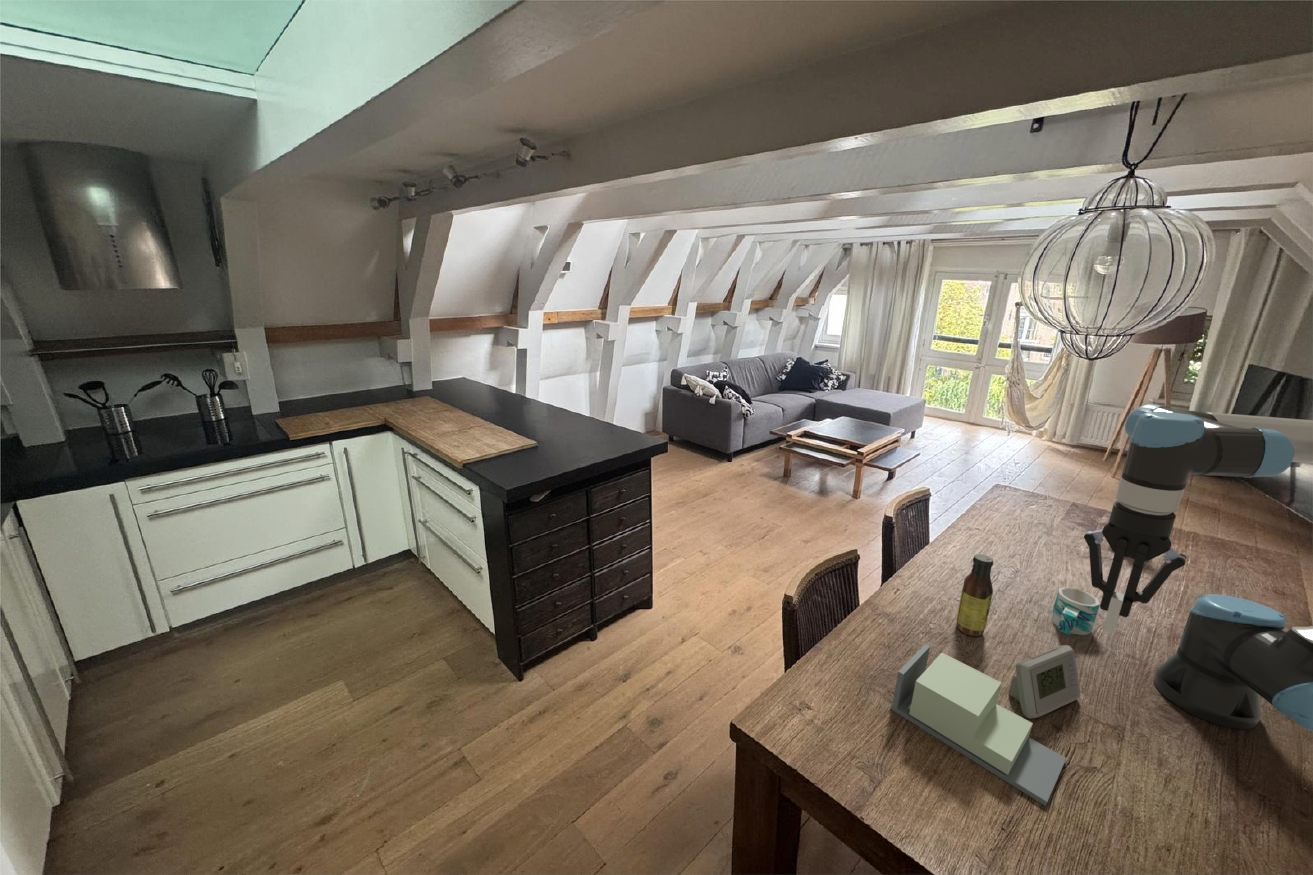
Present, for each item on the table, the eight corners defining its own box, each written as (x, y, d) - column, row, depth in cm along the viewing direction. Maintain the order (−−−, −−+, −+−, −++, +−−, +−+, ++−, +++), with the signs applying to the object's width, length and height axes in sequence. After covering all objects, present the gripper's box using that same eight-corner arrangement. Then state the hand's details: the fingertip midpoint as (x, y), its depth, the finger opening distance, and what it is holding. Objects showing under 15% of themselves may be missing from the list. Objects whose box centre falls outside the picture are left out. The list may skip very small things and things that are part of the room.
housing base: (1064, 762, 91) (1078, 721, 88) (1045, 806, 83) (1059, 762, 81) (917, 679, 110) (924, 643, 107) (890, 709, 102) (897, 670, 100)
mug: (1094, 626, 128) (1103, 597, 126) (1083, 647, 121) (1092, 617, 118) (1055, 610, 134) (1062, 583, 132) (1041, 629, 127) (1049, 600, 124)
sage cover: (1029, 736, 95) (1039, 701, 92) (1008, 775, 87) (1018, 738, 85) (935, 683, 107) (941, 652, 105) (909, 714, 99) (915, 681, 97)
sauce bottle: (988, 639, 123) (1005, 567, 117) (960, 635, 124) (976, 564, 118) (977, 622, 129) (993, 553, 123) (950, 619, 130) (965, 550, 124)
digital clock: (1026, 723, 99) (1038, 679, 96) (989, 688, 108) (999, 647, 105) (1094, 712, 102) (1109, 668, 99) (1053, 679, 111) (1065, 638, 108)
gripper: (1203, 511, 81) (1162, 636, 88) (1098, 488, 90) (1068, 602, 97) (1200, 526, 76) (1157, 656, 83) (1089, 500, 85) (1058, 619, 92)
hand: (1109, 627), depth 90 cm, fingers closed
